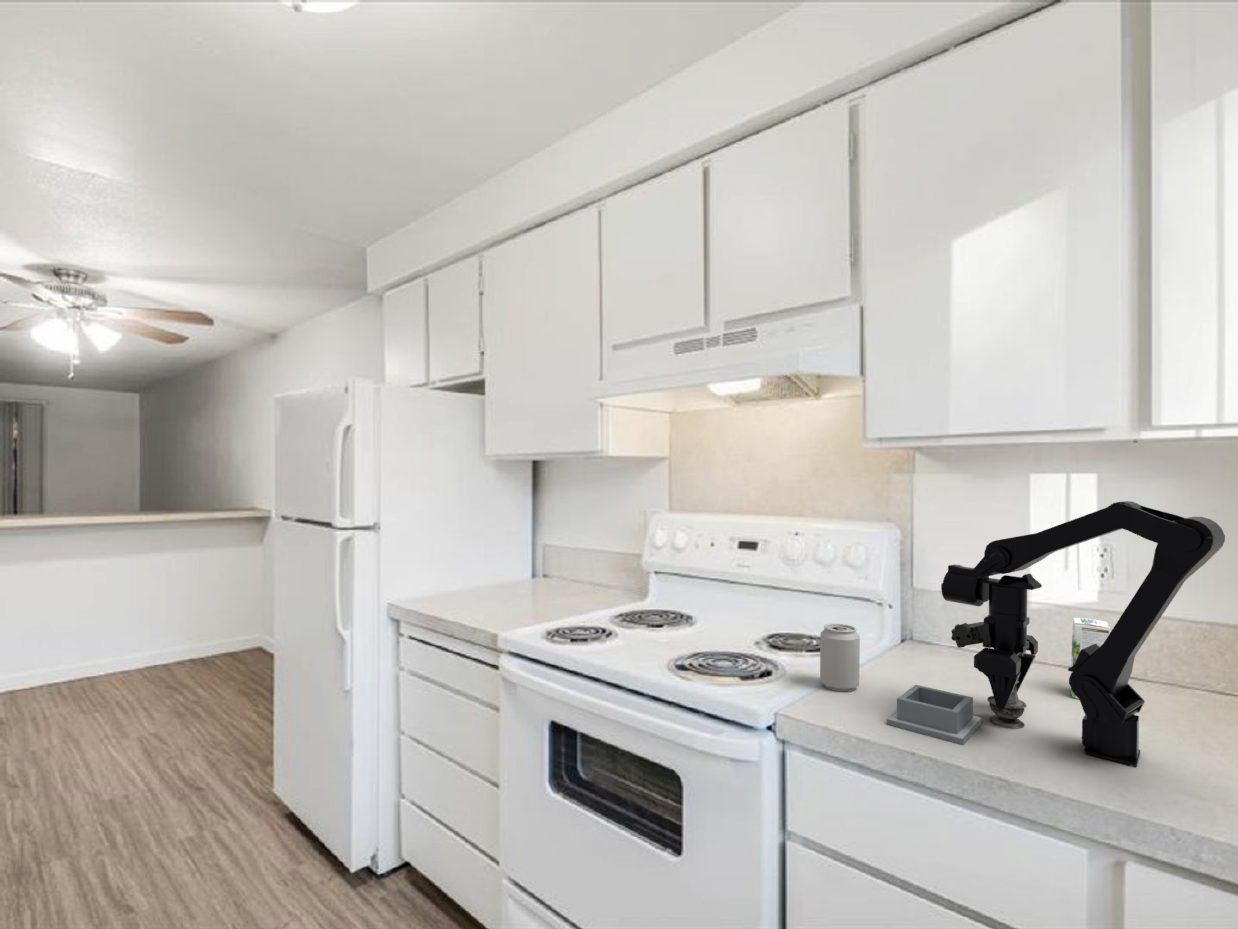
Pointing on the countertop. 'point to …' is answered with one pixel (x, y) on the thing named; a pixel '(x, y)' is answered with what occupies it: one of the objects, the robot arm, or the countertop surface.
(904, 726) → the dock
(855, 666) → the can
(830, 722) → the countertop surface
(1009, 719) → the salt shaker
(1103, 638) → the syrup box
